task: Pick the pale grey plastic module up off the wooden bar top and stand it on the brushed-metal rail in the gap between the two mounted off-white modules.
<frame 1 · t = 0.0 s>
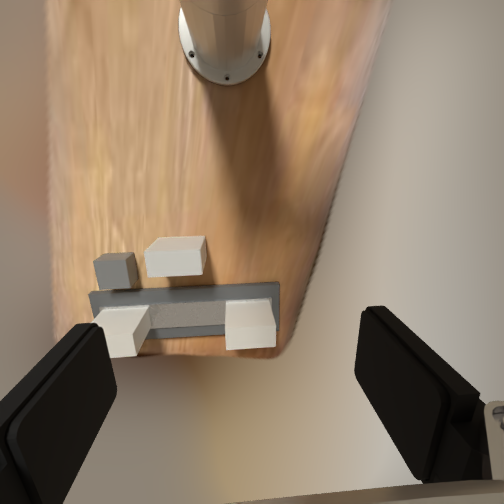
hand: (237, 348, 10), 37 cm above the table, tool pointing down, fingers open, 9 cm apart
rail board: (189, 310, 50), on the table
metal rail: (188, 314, 49), on the rail board, point 1 cm above the table
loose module: (183, 247, 46), on the table
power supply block: (122, 266, 46), on the table
mounted modules: (184, 327, 45), on the metal rail, point 6 cm above the table
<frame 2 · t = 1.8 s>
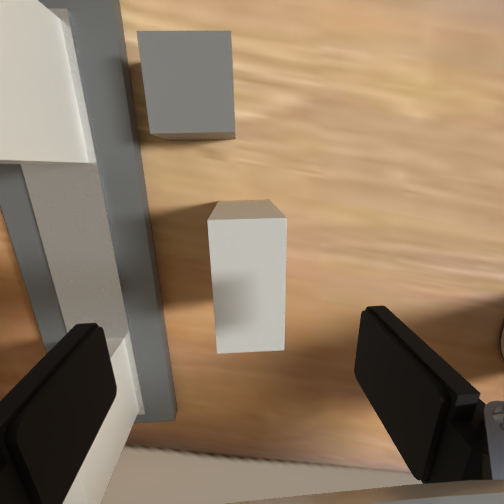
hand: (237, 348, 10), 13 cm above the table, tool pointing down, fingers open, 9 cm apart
rail board: (92, 254, 21), on the table
metal rail: (83, 259, 20), on the rail board, point 1 cm above the table
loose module: (245, 248, 22), on the table
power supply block: (198, 101, 19), on the table
mounted modules: (44, 282, 16), on the metal rail, point 6 cm above the table
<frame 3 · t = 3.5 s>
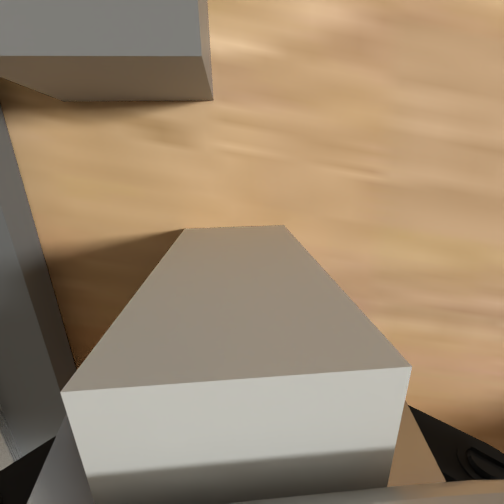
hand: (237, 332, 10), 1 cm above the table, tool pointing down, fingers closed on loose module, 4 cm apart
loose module: (238, 313, 12), on the table, touching gripper
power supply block: (128, 12, 8), on the table
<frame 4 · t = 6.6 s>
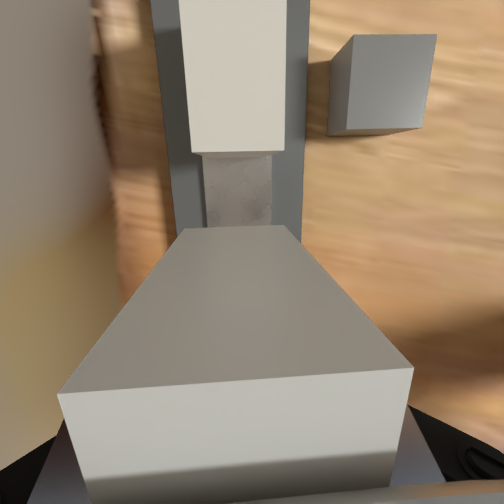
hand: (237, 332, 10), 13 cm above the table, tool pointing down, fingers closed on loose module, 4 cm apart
rail board: (240, 244, 23), on the table
metal rail: (240, 249, 21), on the rail board, point 1 cm above the table
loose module: (238, 313, 12), point 11 cm above the table, touching gripper
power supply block: (360, 99, 20), on the table
mounted modules: (241, 268, 17), on the metal rail, point 6 cm above the table
when the fingers open (4 cm above the table, at t = 8.4 s): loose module drops 1 cm, resting on metal rail.
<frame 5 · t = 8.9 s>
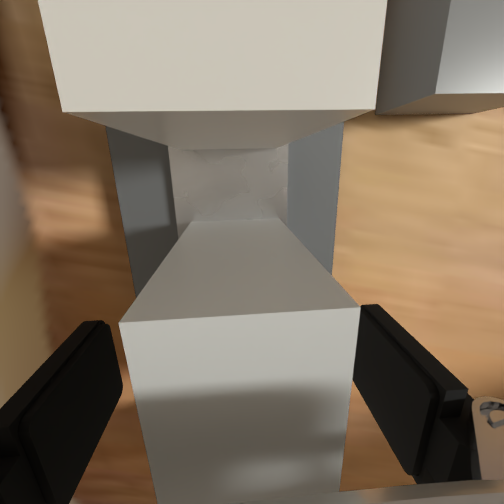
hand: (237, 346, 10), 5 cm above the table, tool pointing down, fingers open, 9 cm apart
rail board: (235, 284, 15), on the table
metal rail: (235, 296, 13), on the rail board, point 1 cm above the table
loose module: (239, 298, 13), point 2 cm above the table, touching metal rail
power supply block: (432, 53, 12), on the table
mounted modules: (237, 352, 9), on the metal rail, point 6 cm above the table
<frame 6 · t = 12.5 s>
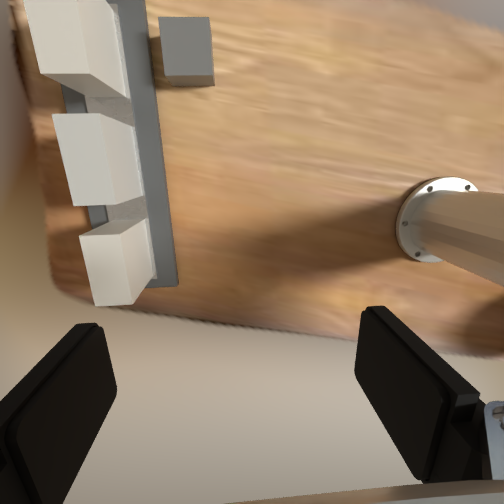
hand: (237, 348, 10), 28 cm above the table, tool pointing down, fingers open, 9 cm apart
rail board: (124, 162, 33), on the table
metal rail: (119, 162, 32), on the rail board, point 1 cm above the table
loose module: (120, 162, 32), point 2 cm above the table, touching metal rail
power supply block: (191, 61, 31), on the table
mounted modules: (103, 162, 28), on the metal rail, point 6 cm above the table
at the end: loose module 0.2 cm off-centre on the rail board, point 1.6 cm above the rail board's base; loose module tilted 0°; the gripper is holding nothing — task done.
